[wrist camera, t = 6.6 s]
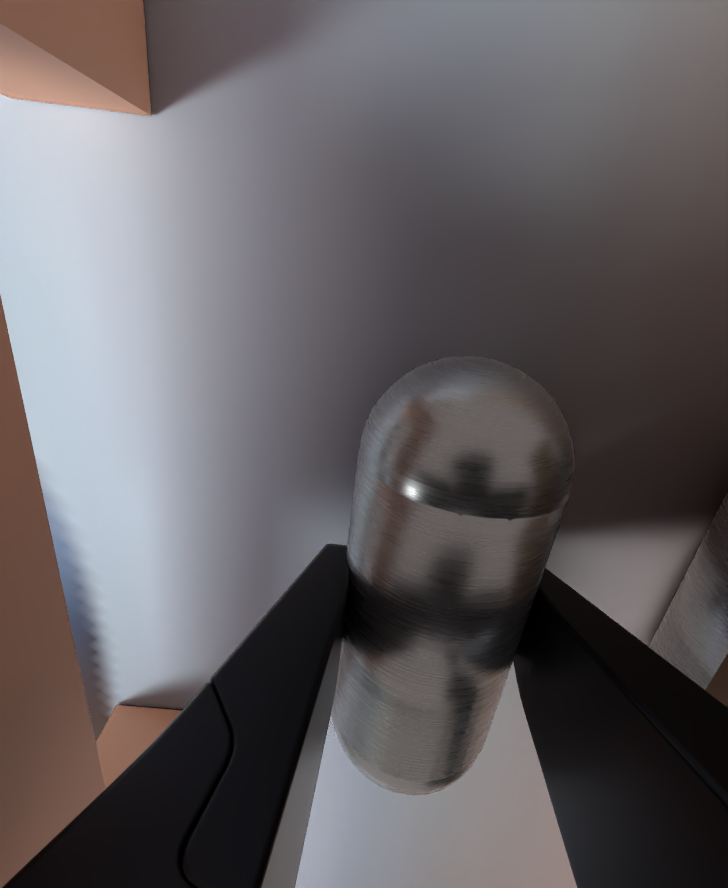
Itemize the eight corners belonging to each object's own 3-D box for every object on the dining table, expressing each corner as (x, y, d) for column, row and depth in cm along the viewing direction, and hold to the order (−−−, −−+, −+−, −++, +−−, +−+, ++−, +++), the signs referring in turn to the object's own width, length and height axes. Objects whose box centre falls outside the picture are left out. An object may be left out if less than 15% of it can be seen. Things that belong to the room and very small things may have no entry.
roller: (370, 327, 7) (371, 375, 4) (551, 349, 7) (663, 408, 4) (330, 674, 10) (316, 826, 8) (456, 684, 10) (487, 840, 8)
